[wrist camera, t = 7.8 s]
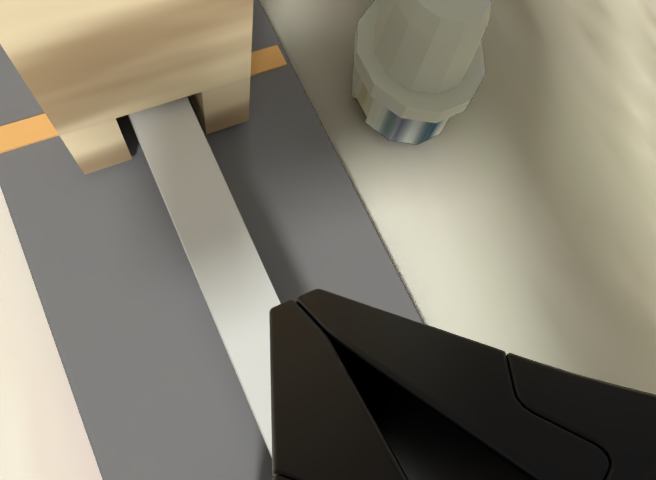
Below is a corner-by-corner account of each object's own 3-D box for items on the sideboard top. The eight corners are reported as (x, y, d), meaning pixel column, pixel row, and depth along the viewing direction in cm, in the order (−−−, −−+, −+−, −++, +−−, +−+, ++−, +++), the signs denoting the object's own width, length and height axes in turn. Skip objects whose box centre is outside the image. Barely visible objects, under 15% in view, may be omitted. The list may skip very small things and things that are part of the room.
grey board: (514, 517, 19) (573, 539, 16) (192, 722, 16) (181, 804, 13) (198, -108, 25) (192, -187, 22) (-79, -53, 22) (-135, -135, 19)
